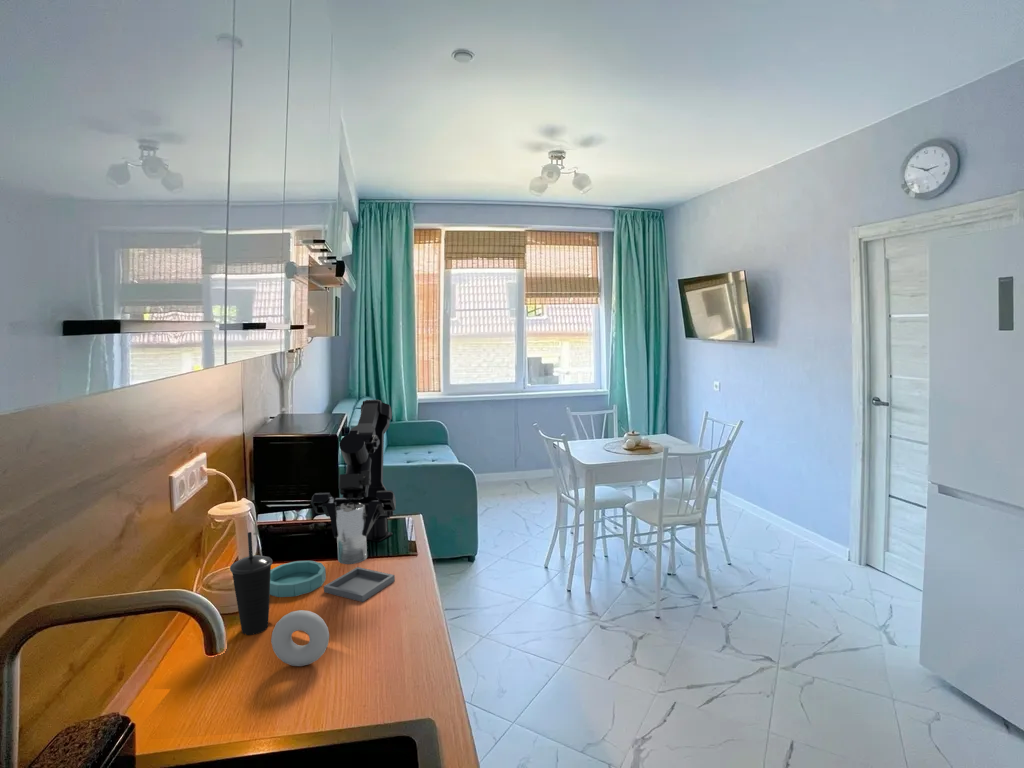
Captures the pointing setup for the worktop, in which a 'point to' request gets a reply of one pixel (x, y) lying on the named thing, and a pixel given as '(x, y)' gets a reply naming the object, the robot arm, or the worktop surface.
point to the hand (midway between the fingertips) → (350, 536)
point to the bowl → (296, 578)
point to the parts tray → (359, 584)
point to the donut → (298, 653)
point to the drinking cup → (252, 590)
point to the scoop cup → (351, 533)
